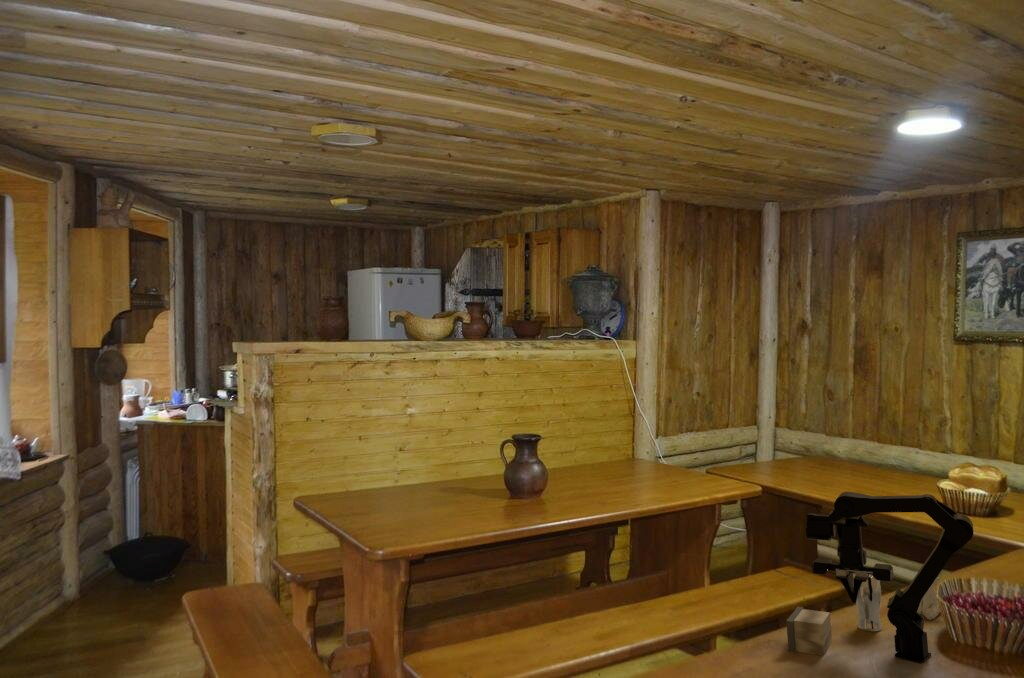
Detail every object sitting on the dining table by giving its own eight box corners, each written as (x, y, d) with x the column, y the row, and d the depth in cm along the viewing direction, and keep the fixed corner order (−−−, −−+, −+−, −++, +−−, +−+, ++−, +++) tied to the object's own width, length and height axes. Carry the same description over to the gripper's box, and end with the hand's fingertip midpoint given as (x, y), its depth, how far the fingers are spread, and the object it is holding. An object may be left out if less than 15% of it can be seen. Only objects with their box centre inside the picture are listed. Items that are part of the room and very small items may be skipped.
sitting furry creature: (902, 610, 219) (898, 569, 219) (923, 605, 222) (920, 564, 222) (930, 620, 210) (927, 577, 210) (952, 615, 213) (949, 572, 213)
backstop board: (805, 636, 204) (803, 607, 204) (794, 652, 194) (792, 621, 194) (799, 635, 205) (797, 606, 205) (788, 651, 195) (786, 620, 195)
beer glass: (888, 627, 206) (884, 573, 207) (875, 634, 203) (870, 578, 203) (864, 621, 212) (861, 568, 213) (850, 627, 208) (847, 573, 209)
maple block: (832, 642, 199) (830, 612, 199) (824, 656, 191) (822, 624, 191) (804, 638, 203) (802, 609, 203) (795, 651, 195) (793, 620, 195)
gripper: (894, 537, 196) (898, 597, 196) (819, 531, 206) (823, 588, 206) (887, 548, 187) (892, 611, 186) (809, 541, 197) (813, 601, 197)
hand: (854, 602), depth 194 cm, fingers closed
